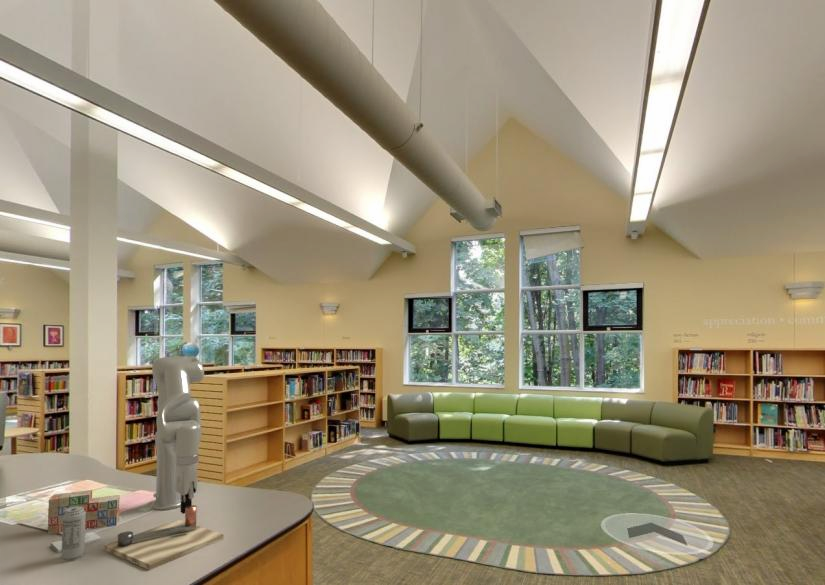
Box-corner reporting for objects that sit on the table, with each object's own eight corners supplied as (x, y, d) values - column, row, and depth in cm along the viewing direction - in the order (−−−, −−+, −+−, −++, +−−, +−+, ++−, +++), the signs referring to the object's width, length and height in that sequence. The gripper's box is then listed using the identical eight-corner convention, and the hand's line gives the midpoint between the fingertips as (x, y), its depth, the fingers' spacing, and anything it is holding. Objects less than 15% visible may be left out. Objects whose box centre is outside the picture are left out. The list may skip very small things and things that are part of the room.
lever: (118, 547, 163) (118, 523, 163) (116, 542, 166) (117, 519, 167) (197, 529, 177) (197, 507, 177) (194, 525, 180) (195, 504, 181)
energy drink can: (88, 553, 163) (89, 505, 164) (76, 561, 157) (78, 512, 158) (69, 553, 163) (70, 505, 164) (56, 562, 157) (58, 512, 158)
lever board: (104, 550, 165) (104, 544, 165) (178, 523, 187) (178, 518, 187) (149, 570, 151) (149, 564, 151) (223, 538, 173) (223, 533, 173)
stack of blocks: (119, 519, 192) (120, 486, 193) (116, 525, 186) (117, 491, 187) (52, 528, 184) (53, 493, 185) (46, 535, 178) (48, 499, 179)
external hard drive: (50, 547, 168) (92, 535, 178) (58, 554, 163) (101, 542, 173) (50, 542, 169) (93, 530, 178) (58, 549, 163) (101, 537, 173)
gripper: (169, 457, 184) (167, 509, 183) (183, 465, 174) (182, 520, 172) (190, 454, 190) (189, 504, 188) (205, 461, 179) (204, 515, 178)
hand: (186, 512), depth 180 cm, fingers closed
